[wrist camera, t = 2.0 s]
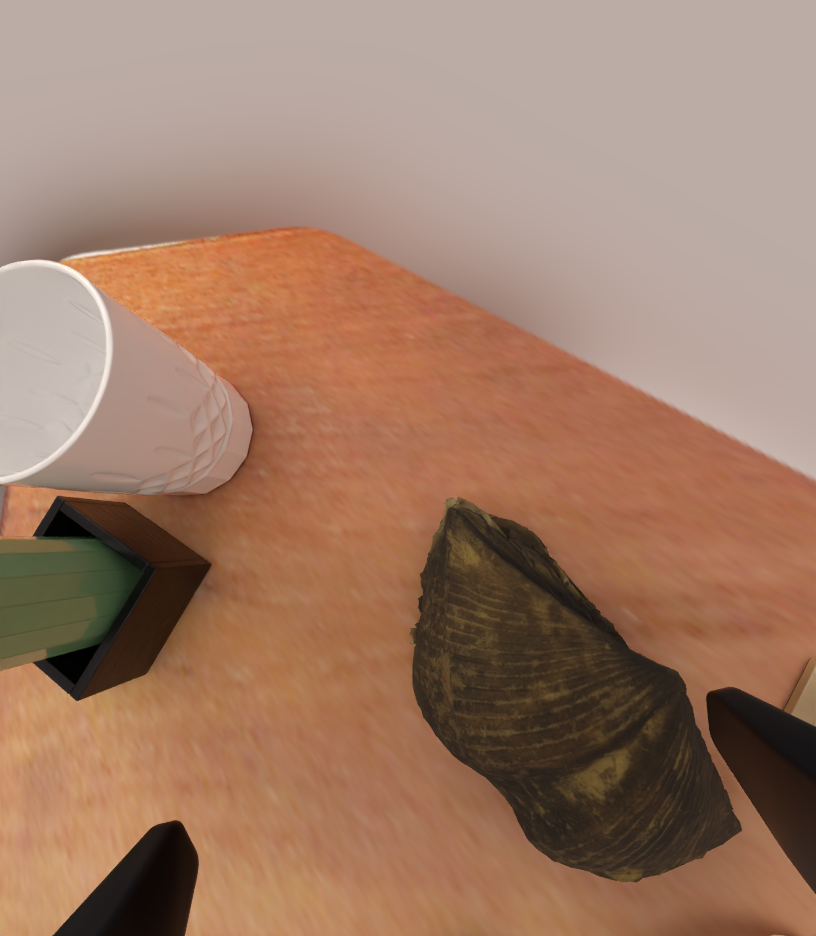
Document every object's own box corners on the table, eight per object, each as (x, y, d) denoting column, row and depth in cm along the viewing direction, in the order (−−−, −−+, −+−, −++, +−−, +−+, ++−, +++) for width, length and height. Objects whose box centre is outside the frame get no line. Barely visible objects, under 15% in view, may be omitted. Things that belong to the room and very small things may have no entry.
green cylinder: (143, 653, 23) (-271, 790, 10) (78, 600, 24) (-368, 667, 12) (194, 568, 23) (-152, 603, 11) (127, 521, 24) (-257, 500, 12)
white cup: (291, 438, 24) (154, 367, 14) (183, 537, 24) (-28, 535, 14) (211, 340, 25) (39, 216, 16) (110, 432, 26) (-120, 367, 16)
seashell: (789, 776, 17) (928, 970, 11) (599, 875, 20) (616, 1085, 13) (505, 459, 21) (477, 457, 14) (373, 574, 23) (295, 619, 16)
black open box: (146, 674, 23) (76, 702, 19) (61, 605, 24) (-20, 618, 20) (212, 564, 23) (157, 568, 19) (124, 502, 25) (56, 495, 21)
